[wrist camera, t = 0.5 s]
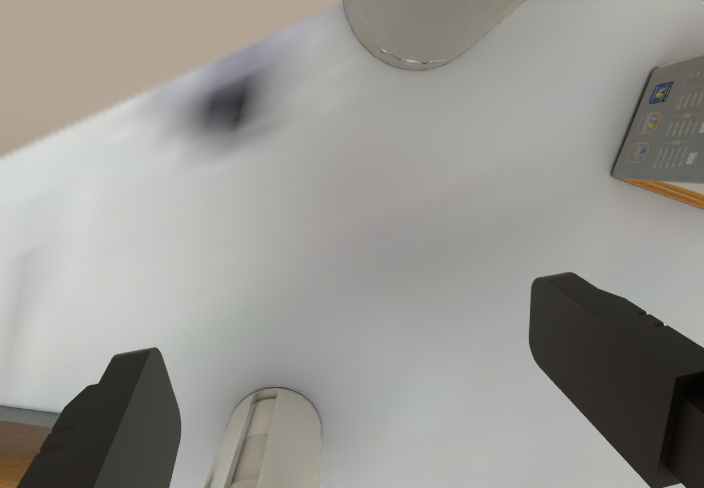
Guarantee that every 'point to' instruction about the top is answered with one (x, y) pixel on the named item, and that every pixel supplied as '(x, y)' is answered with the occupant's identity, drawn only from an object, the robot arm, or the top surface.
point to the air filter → (270, 444)
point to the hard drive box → (669, 134)
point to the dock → (21, 441)
